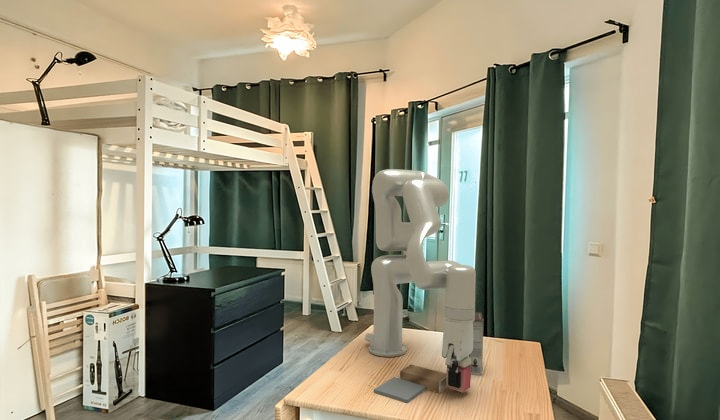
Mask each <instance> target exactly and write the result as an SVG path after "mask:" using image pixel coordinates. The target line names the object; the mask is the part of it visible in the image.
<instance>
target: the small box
mask: <svg viewBox="0 0 720 420" xmlns="http://www.w3.org/2000/svg"><path fill="white" fill-rule="evenodd" d="M453 358H454V359H456V357H454V356H453ZM452 362H453V363H454V364H455V365H456V364H457V362H454V361H452ZM459 372H461V387H460V388H456V387H452V386H449V385H448V367H447V366H446V374H447V377H446V387H447V388H446V389H451V390H454V391H456V392H461V393H465V392H466V391H468V390H469V389H471V379H472V378H471V377H472V376H471V375H472V374H471V358H468V357H465V358H464V359H462V360H461V361H460V370H459Z"/></svg>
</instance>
